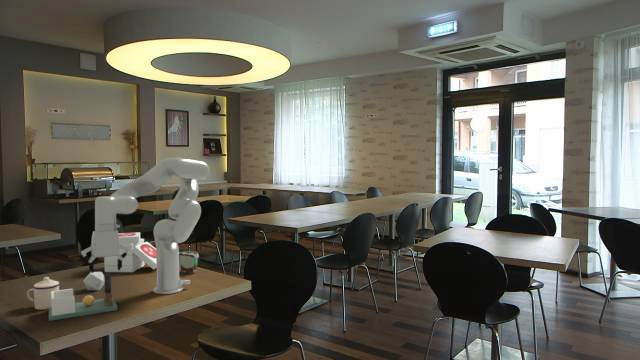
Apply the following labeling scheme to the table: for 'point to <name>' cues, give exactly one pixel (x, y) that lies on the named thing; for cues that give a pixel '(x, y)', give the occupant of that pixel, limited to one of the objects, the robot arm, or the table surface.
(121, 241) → the pizza boxes
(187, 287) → the table surface
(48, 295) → the teacup with lid
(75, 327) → the table surface
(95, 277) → the die
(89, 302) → the ball
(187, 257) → the food container
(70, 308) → the game board
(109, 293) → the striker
